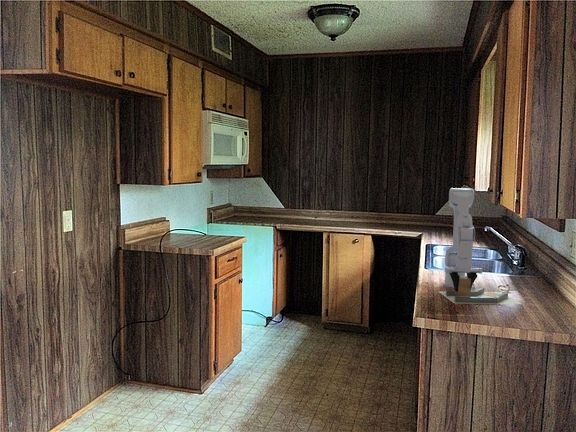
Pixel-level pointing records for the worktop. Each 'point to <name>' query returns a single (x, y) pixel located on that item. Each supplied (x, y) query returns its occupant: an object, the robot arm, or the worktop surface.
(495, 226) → the worktop surface
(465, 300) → the rails
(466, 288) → the walnut block
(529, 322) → the worktop surface
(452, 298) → the channel board
